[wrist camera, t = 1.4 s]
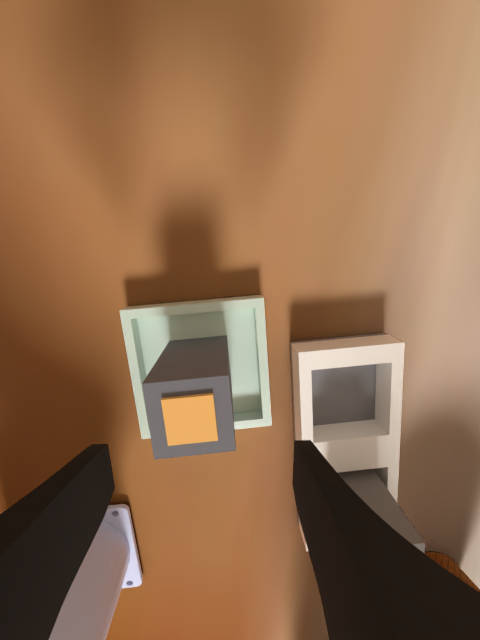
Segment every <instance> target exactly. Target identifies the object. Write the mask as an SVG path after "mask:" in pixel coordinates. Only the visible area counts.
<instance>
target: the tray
mask: <svg viewBox="0 0 480 640" xmlns="http://www.w3.org/2000/svg"><path fill="white" fill-rule="evenodd" d="M119 311H120V317H121V323H122V329H123V334H124V340H125V346H126V351H127V357H128V363H129V369H130V374H131V380H132V386H133V392H134V397H135V403H136V409H137V415H138V420H139V426H140V432H141V438H142V439H148V438H151V436H150V430H149V424H148V418H147V412H146V406H145V400H144V394H143V387H142V383H143V381H144V380H145V378H146V377H147V375H148V374H149V372H150V370H151V369H152V367H153V366H154V364H155V363H156V361H157V360H158V358H159V356H160V355H161V353H162V352H163V350H164V349H165V347H166V346H167V344H168V342H169V341H172V340H183V339H194V338H204V337H215V336H226V335H227V341H228V352H229V363H230V373H231V384H232V398H233V414H234V429H244V428H253V427H263V426H272V420H271V404H270V388H269V372H268V356H267V340H266V325H265V309H264V297H263V296H262V295H251V296H239V297H228V298H217V299H205V300H194V301H182V302H171V303H160V304H148V305H137V306H127V307H125V308H123V309H121V310H119Z"/></svg>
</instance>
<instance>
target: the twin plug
mask: <svg viewBox="0 0 480 640" xmlns="http://www.w3.org/2000/svg"><path fill="white" fill-rule="evenodd" d="M338 474H339V475H340V476H341V477H342V479H343V480H344V481H345V482H346V483H347V484H348V485H349V486H350V487H351V488H352V490H353V491H354V492H355V493H356V494H357V495H358V496H359V497H360V498H361V499H362V500H363V501H364V502H365V503H366V504H367V505H368V506H369V507H370V508H371V509H372V510H373V511H374V512H375V513H376V514H377V515H379V516H380V517H381V518H382V519H383V520H384V521H385V522H386V523H387V524H389V525H390V526H391V527H392V528H393V529H394V530H395V531H397V532H398V533H399V534H400V535H402V536H403V537H404V538H405V539H406V540H408V541H409V542H410V543H412V544H413V545H414V546H415V547H417V548H418V549H419V550H421V551H422V552H423V553H424V554H425V541H424V540H423V539H422V537H421V536H420V534H419V533H418V532H417V530H416V529H415V527H414V526H413V524H412V523H411V522H410V520H409V519H408V517H407V516H406V515H405V513H404V512H403V510H402V509H401V507H400V506H399V505H398V503H397V502H396V500H395V499H394V498H393V496H392V495H391V493H390V492H389V490H388V489H387V488H386V486H385V485H384V483H383V482H382V481H381V479H380V478H379V476H378V475H377V473H376V472H375V471H374V469H365V470H356V471H347V472H338Z"/></svg>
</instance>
